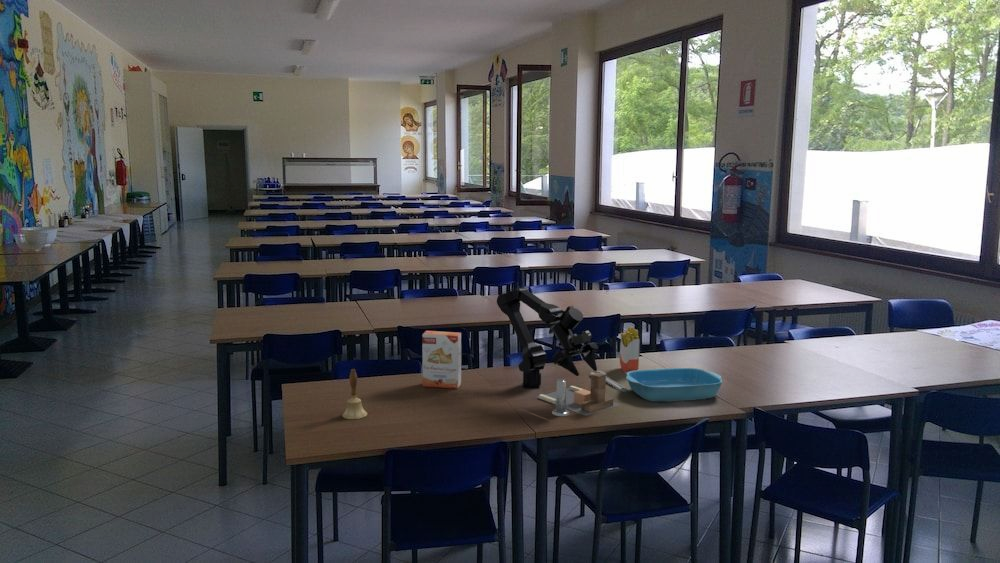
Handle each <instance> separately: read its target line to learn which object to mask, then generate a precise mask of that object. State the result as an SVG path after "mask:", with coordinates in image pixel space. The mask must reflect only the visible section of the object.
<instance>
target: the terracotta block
mask: <svg viewBox="0 0 1000 563" xmlns="http://www.w3.org/2000/svg"><path fill="white" fill-rule="evenodd" d="M581 389H582V390H579V391H575V392H574V403H576V404H579V405H581V403H583V402H586V401H590V393H591V390H588V389H584V388H581Z"/></svg>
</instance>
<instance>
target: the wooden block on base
mask: <svg viewBox="0 0 1000 563" xmlns="http://www.w3.org/2000/svg"><path fill="white" fill-rule="evenodd" d="M593 373H594V374H591V373H590V391H591V393H590V401H586V402H583V403H581V410H583V411H586V412H588V413H591V412H595V411H598V410H601V409H604V408H607V407H610V406H613V402H614V398H612V397H610V396H606V384H607V383H606V377H607V374H606V375H605V374H602V373H596V372H593Z"/></svg>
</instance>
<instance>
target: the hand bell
mask: <svg viewBox="0 0 1000 563" xmlns="http://www.w3.org/2000/svg"><path fill="white" fill-rule="evenodd" d="M349 384H350V388H351V398H349V399H348V400H347V402H346V405H347V406H346V409H345V411H344V412H343V413H342V418H343V419H345V420H359V419H363V418H365V417H367V416H368V412H367V411H366V410H365V409H364V407H363V404H362V400H361V398H360V397H359V398H358V395H357V394H358V393H357V384H358V375H357V372H356V369H355V368H352V369H350V373H349Z"/></svg>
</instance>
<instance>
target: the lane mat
mask: <svg viewBox="0 0 1000 563" xmlns="http://www.w3.org/2000/svg"><path fill="white" fill-rule="evenodd" d="M582 389H583V388H581V387H578V386H575V385H569V387H568V388H567V387H566V410H568V411H571V412H574V413H577V414H579V415H583V416H585V417H586V416H589V415H592V414H596V413H597V414H598V413H599V412H603V411H607V410H609V409H613V408H615V407H618V406H621V405H622V404H621V403H618V402H615V401H613V406H610V407H607V408H604V409H601V410H598V411H595V412H591V413H588V412H586V411H583V410H581V405H579V404H576V403H574V392H575V391H579V390H582ZM556 392H557V390H556V391H553V392H550V393H546V394H543V393H541V394H539V395H538V396H535V398H537V399H539V400H541V401H543V402H544V401H545V402H547V403H549V404H553V405H555V406H556Z"/></svg>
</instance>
